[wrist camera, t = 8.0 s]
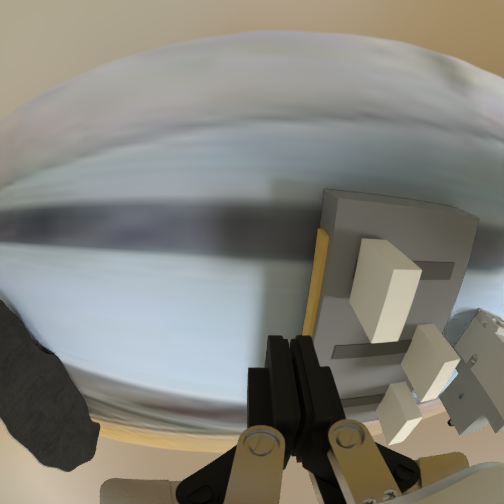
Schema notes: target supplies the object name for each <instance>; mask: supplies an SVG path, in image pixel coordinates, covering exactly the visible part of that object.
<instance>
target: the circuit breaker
mask: <svg viewBox="0 0 504 504" xmlns="http://www.w3.org/2000/svg"><path fill="white" fill-rule="evenodd" d="M478 311H479V312H478V314H477V315H476V317H475V316H474V318H473V319H472V321H471V323H470V324H469V326H468V327H467V329H466V330H465V332H464V333H463V335H462V336H461V338H460V339H459V340H458V342H457V343H456V345H455V346H454V347H453V349H454V350H455V352H456V353H457V354H458V356H459V357H460V358H461V359H460V361H459V363H458V365H457V366H456V368H455V369H456V370H457V372H458V375H457V376H456V378H455V379H454V380H453V381H452V382H451V383H450V385H449V386H448V387H447V388H446V389H445V390H444V392H443V393H442V394H441V395H440V396H439V398H440V400H441V401H442V403H443V405H444V407H445V409H446V411H447V413H448V414H449V416H450V418H451V419H450V420H449V421H448V425H449V426H455V428H456V430H457V432H458V433H459V435H462V434H466V433H470V432H473V431H477V430H480V429H483V428H485V427H486V426H487V425H488V424H489V423H490V425H491V426H492V428H493V430H494V432H495V433H497V432H500V431H502V430H504V321H503V320H502V319H501V317H499V316H497V315H495V314H492V313H490V312H488V311H486V310H483V309H481V308H479V310H478Z"/></svg>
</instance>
